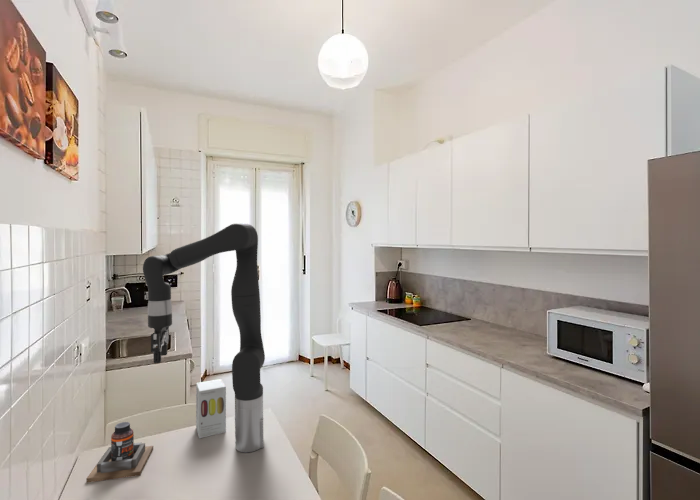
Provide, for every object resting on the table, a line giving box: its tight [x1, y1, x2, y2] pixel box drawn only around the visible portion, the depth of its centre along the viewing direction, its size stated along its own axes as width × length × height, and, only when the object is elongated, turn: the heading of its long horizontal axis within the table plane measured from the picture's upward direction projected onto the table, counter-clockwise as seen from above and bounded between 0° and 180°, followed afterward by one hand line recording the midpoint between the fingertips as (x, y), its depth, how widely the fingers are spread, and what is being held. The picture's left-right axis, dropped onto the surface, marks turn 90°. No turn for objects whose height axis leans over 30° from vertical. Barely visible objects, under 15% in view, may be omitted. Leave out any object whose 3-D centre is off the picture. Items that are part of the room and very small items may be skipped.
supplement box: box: [195, 378, 227, 439], centre depth 136 cm, size 10×9×17 cm
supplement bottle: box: [110, 421, 135, 461], centre depth 115 cm, size 6×6×11 cm
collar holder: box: [86, 442, 154, 484], centre depth 115 cm, size 14×14×4 cm
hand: (160, 358), depth 130 cm, fingers open, 8 cm apart
